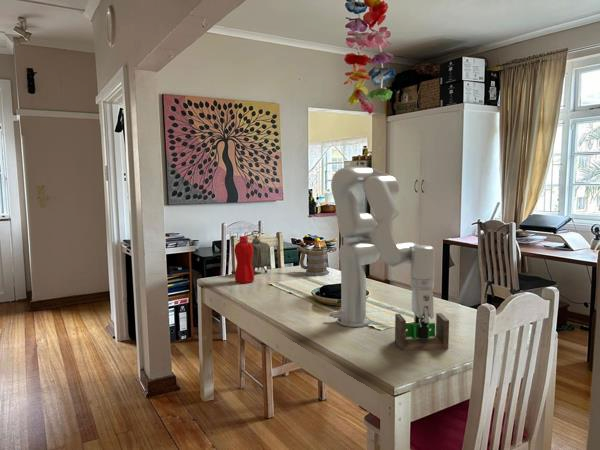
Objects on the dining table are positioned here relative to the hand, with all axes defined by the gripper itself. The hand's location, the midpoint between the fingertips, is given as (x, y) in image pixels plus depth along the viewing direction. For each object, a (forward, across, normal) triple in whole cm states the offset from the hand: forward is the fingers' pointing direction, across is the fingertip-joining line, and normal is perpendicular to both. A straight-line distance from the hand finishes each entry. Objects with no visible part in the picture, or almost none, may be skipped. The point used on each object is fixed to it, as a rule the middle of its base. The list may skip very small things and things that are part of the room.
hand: (420, 335), depth 150 cm
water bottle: (+4, +93, +68) cm, 115 cm away
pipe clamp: (+1, 0, 0) cm, 1 cm away
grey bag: (+4, +116, +64) cm, 133 cm away
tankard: (+4, +114, +31) cm, 118 cm away
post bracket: (+3, 0, 0) cm, 3 cm away
